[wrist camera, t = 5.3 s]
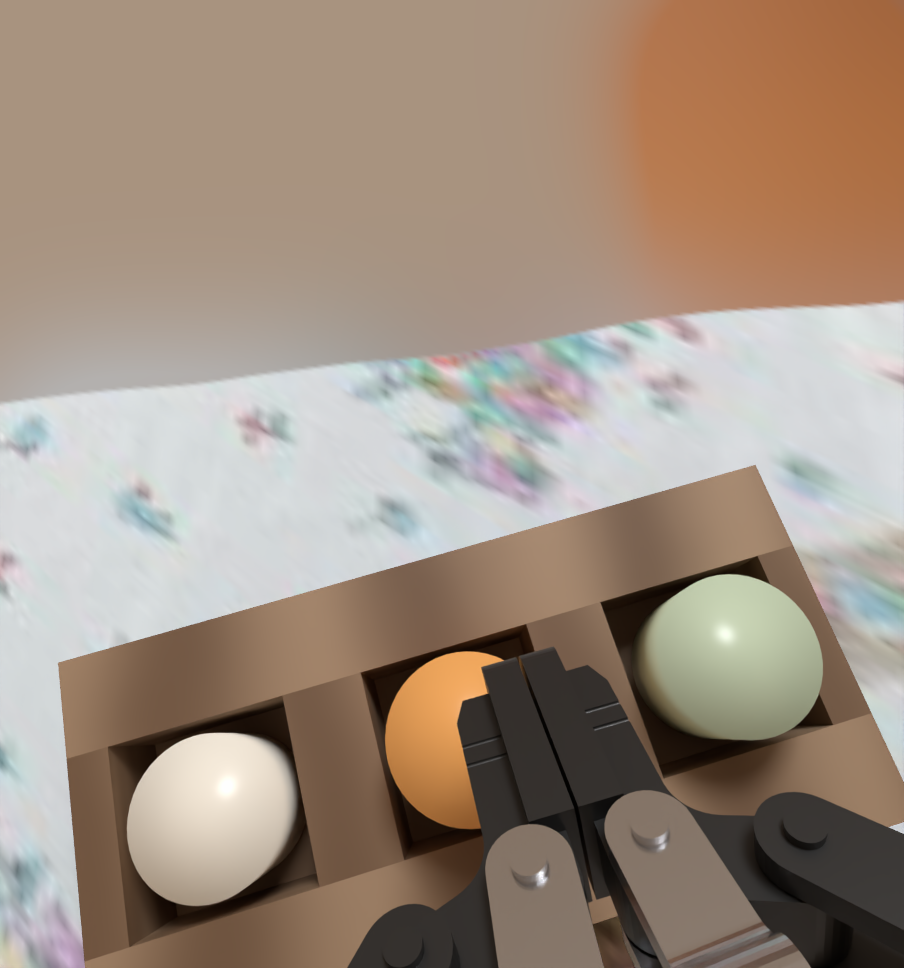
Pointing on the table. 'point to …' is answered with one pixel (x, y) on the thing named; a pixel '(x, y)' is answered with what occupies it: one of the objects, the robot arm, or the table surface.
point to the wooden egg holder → (368, 699)
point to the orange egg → (436, 737)
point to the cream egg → (214, 816)
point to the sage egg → (728, 660)
